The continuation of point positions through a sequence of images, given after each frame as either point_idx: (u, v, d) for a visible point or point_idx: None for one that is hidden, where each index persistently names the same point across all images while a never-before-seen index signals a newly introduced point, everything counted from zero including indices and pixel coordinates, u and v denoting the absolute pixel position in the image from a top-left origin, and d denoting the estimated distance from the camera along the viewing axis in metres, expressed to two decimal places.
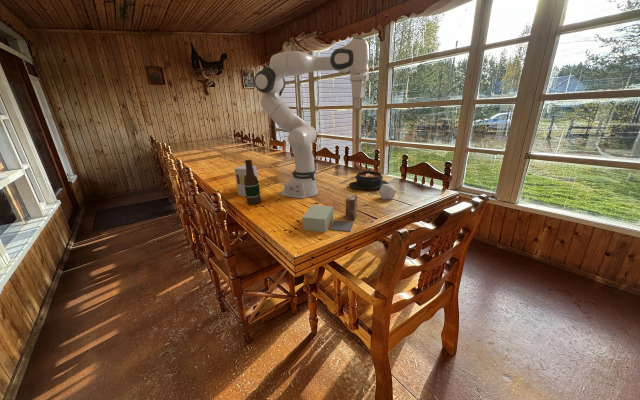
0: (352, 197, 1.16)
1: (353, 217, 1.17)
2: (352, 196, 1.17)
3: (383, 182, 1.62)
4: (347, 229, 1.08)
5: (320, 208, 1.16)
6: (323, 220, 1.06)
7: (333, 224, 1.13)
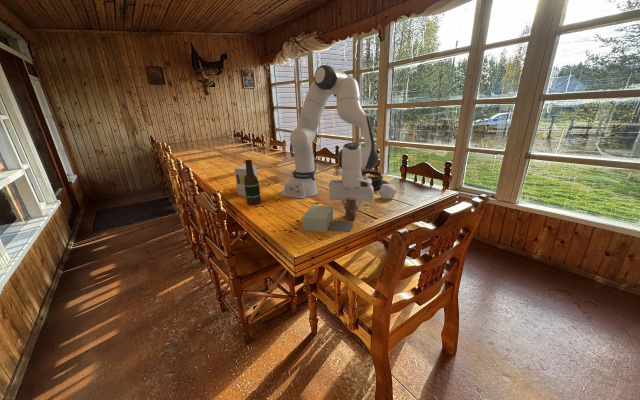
0: None
1: (353, 217, 1.17)
2: None
3: (383, 182, 1.62)
4: (347, 229, 1.08)
5: (320, 208, 1.16)
6: (323, 220, 1.06)
7: (333, 224, 1.13)
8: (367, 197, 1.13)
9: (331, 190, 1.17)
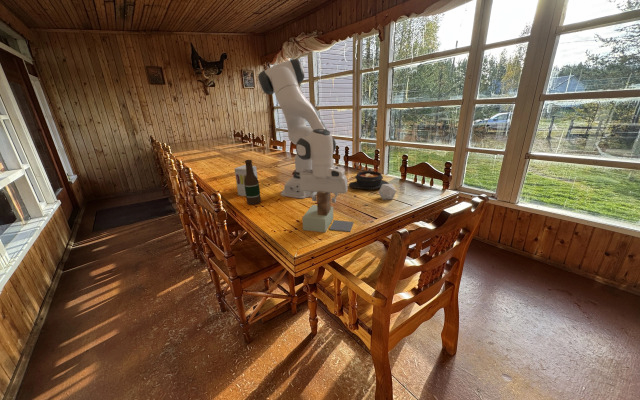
0: None
1: (325, 212, 1.08)
2: None
3: (383, 182, 1.62)
4: (347, 229, 1.08)
5: None
6: (323, 220, 1.06)
7: (333, 224, 1.13)
8: (339, 188, 1.04)
9: (301, 181, 1.08)
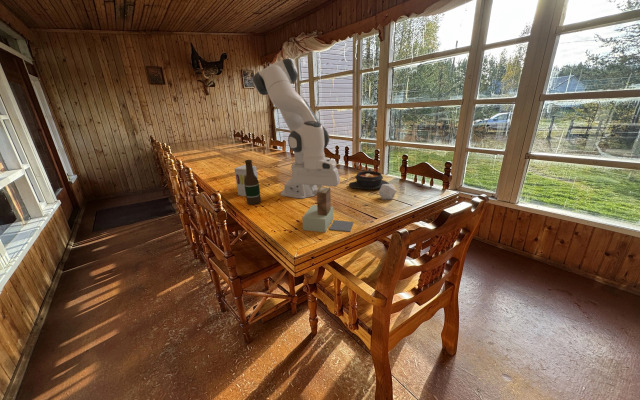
0: (324, 190, 1.08)
1: (325, 212, 1.08)
2: (324, 189, 1.09)
3: (383, 182, 1.62)
4: (347, 229, 1.08)
5: None
6: (323, 220, 1.06)
7: (333, 224, 1.13)
8: (331, 181, 1.04)
9: (293, 173, 1.08)
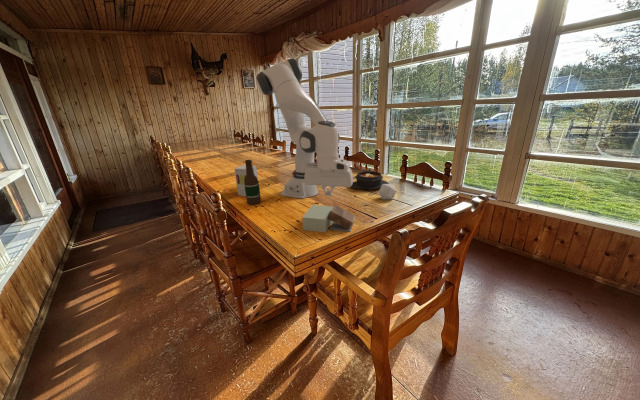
0: None
1: (331, 219, 1.09)
2: None
3: (383, 182, 1.62)
4: (347, 229, 1.08)
5: (320, 208, 1.16)
6: (323, 220, 1.06)
7: (333, 224, 1.13)
8: (345, 182, 1.02)
9: (306, 174, 1.06)
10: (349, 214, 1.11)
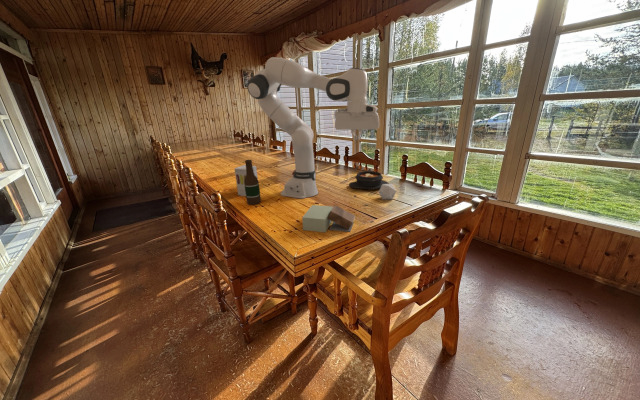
0: None
1: (331, 219, 1.09)
2: None
3: (383, 182, 1.62)
4: (347, 229, 1.08)
5: (320, 208, 1.16)
6: (323, 220, 1.06)
7: (333, 224, 1.13)
8: (372, 124, 1.14)
9: (336, 119, 1.17)
10: (349, 214, 1.11)
